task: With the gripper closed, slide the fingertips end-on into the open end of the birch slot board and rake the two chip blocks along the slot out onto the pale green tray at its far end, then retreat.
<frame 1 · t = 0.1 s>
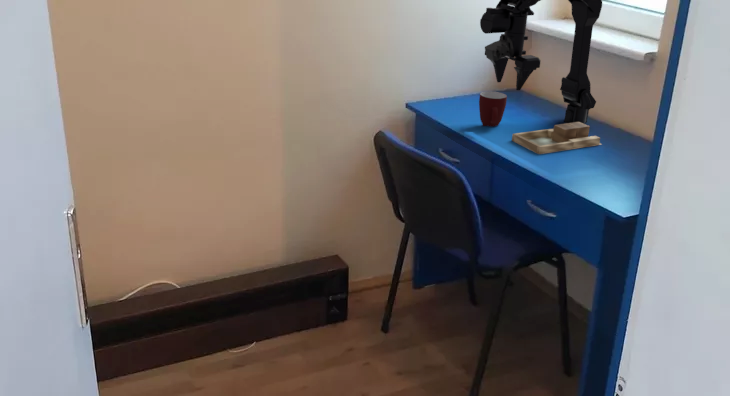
hand: (508, 86, 213), 15 cm above the table, fingers open, 9 cm apart
slot board: (556, 145, 211), on the table
mug: (490, 128, 224), on the table
chip b: (563, 141, 212), point 1 cm above the table, touching slot board
chip a: (575, 139, 214), point 1 cm above the table, touching slot board
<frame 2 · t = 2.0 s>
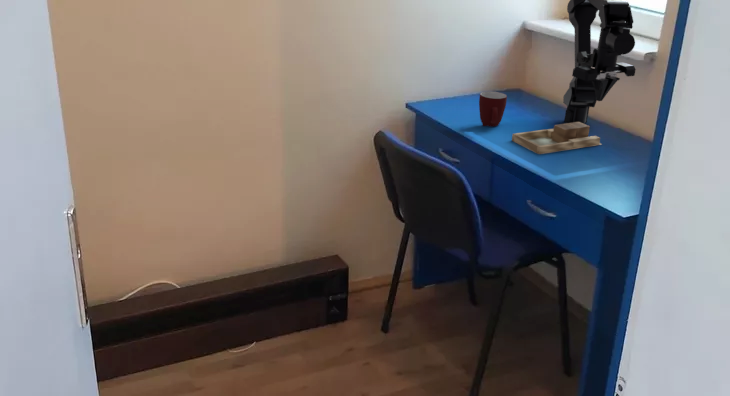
hand: (599, 100, 212), 12 cm above the table, fingers closed
nothing on the table moved.
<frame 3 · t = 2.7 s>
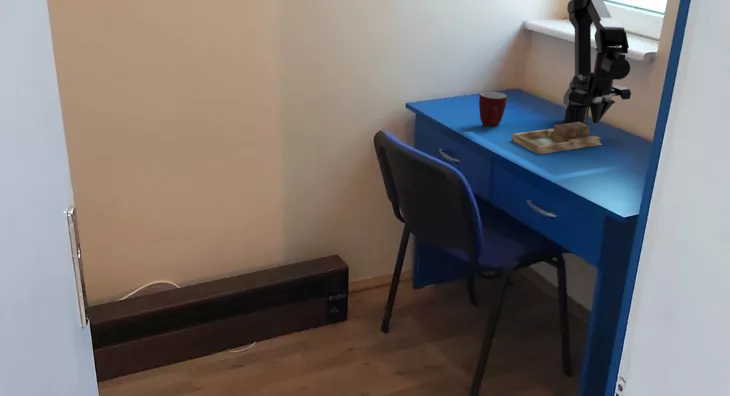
hand: (595, 123, 215), 5 cm above the table, fingers closed
nothing on the table moved.
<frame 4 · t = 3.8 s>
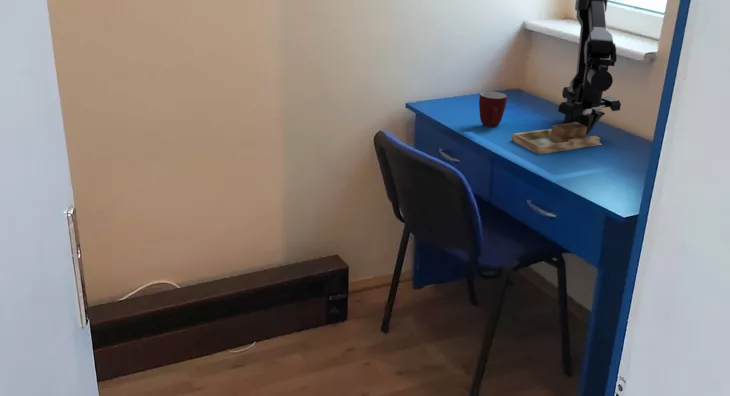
hand: (585, 134, 214), 2 cm above the table, fingers closed
chip b: (561, 141, 211), point 1 cm above the table, touching chip a, slot board
chip a: (573, 139, 213), point 1 cm above the table, touching chip b, gripper, slot board
everything else where it was.
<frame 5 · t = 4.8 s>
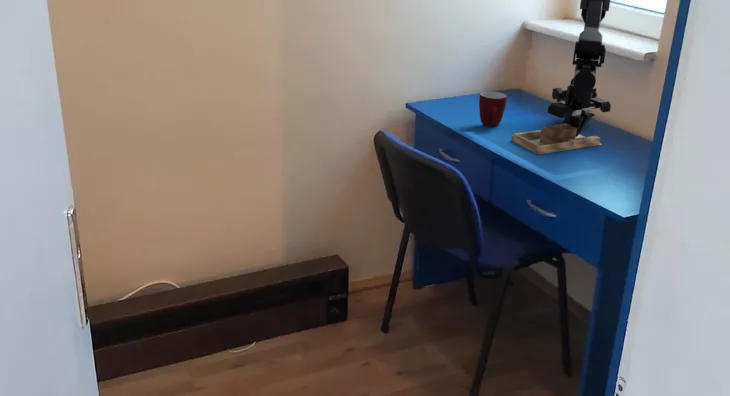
hand: (575, 136, 213), 2 cm above the table, fingers closed
chip b: (550, 143, 210), point 1 cm above the table, touching chip a, slot board
chip a: (563, 141, 211), point 1 cm above the table, touching chip b, gripper
everything else where it was.
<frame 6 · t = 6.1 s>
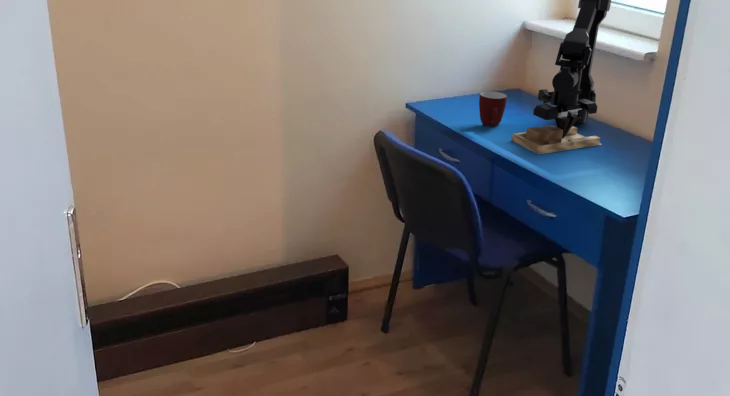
hand: (561, 138, 211), 2 cm above the table, fingers closed
chip b: (536, 145, 208), point 1 cm above the table, touching chip a, slot board
chip a: (549, 143, 209), point 1 cm above the table, touching chip b, gripper, slot board
everything else where it was.
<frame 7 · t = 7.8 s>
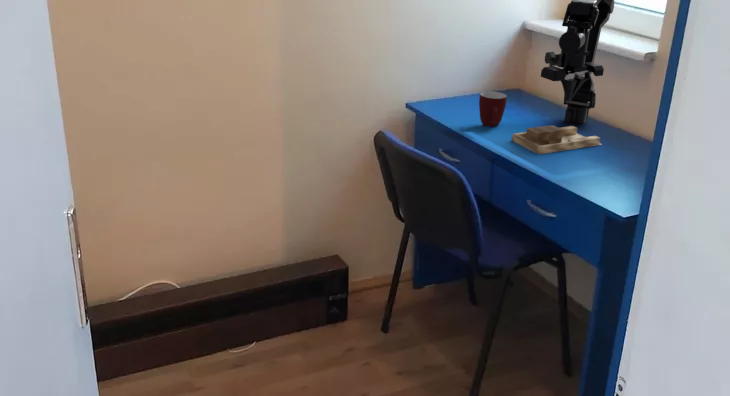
hand: (568, 100, 211), 12 cm above the table, fingers closed
chip b: (536, 145, 208), point 1 cm above the table, touching slot board
chip a: (549, 143, 209), point 1 cm above the table, touching slot board
everything else where it was.
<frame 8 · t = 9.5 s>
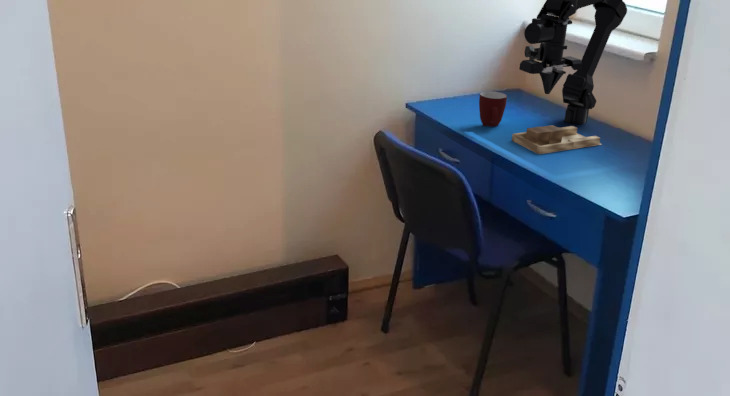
hand: (546, 93, 217), 12 cm above the table, fingers closed
nothing on the table moved.
at the end: chip a inside the target area (3.0 cm from its centre), point 1.0 cm above the table; chip b inside the target area (1.6 cm from its centre), point 1.0 cm above the table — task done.
